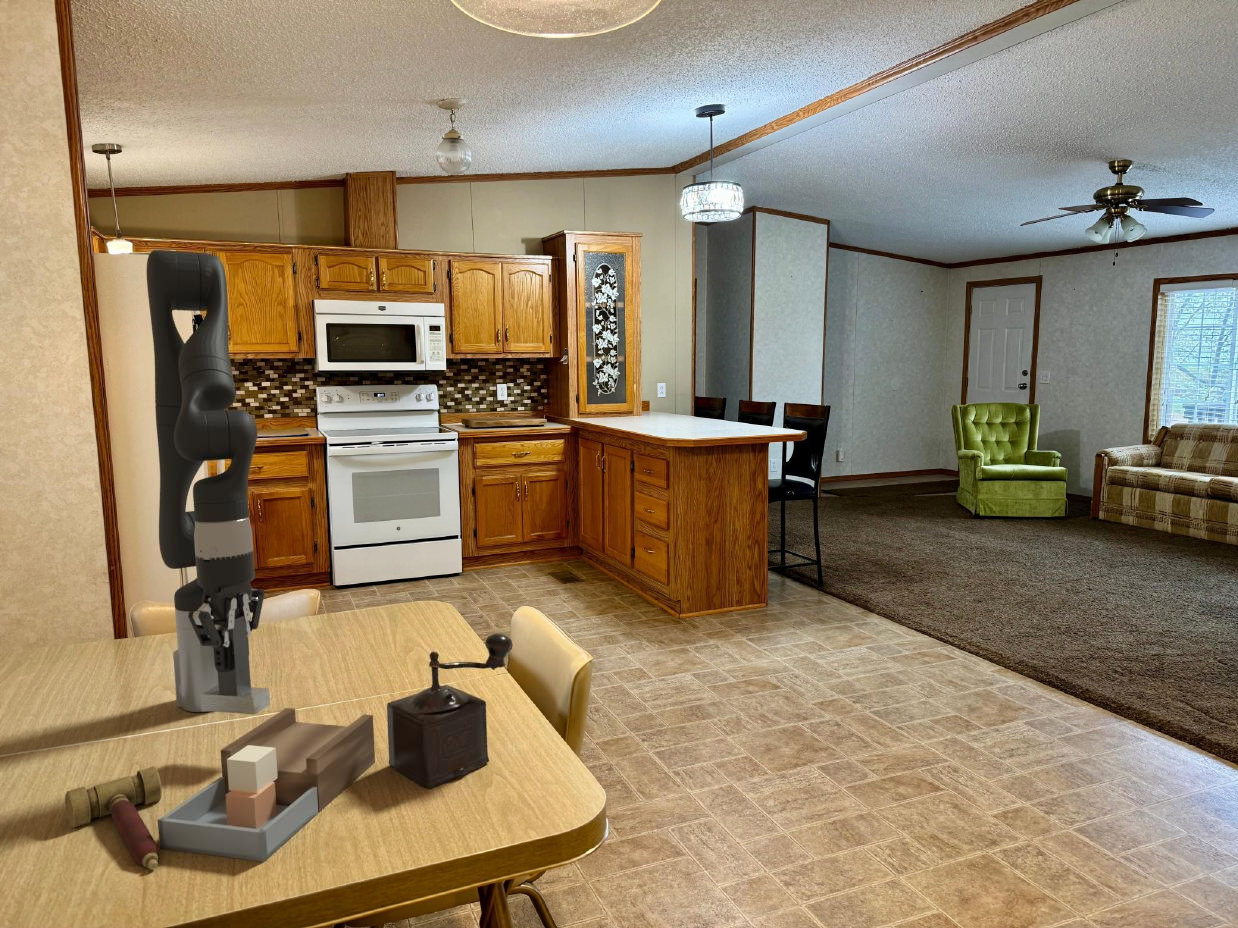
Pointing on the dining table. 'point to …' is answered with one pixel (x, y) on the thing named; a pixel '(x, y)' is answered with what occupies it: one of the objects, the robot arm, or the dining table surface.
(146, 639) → the dining table surface
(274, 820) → the tray
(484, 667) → the antique coffee grinder
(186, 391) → the robot arm
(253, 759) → the off-white cube
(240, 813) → the terracotta cube
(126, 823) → the gavel
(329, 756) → the slot block
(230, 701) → the grey upright post
